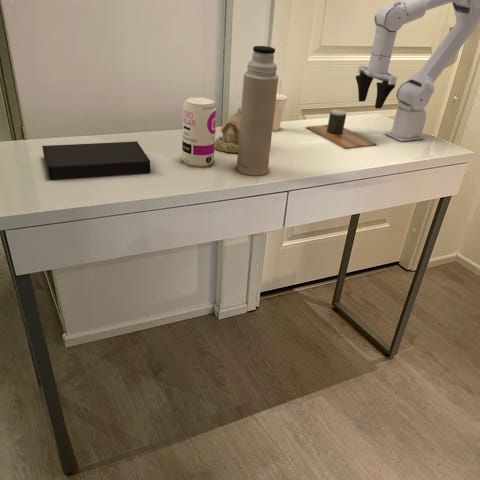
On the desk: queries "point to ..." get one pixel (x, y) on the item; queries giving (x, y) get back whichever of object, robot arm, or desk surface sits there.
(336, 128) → the thermos cap
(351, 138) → the brown wooden board
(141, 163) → the external hard drive
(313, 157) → the desk surface
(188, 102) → the supplement can
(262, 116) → the thermos bottle
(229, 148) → the ceramic model
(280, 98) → the smoothie
